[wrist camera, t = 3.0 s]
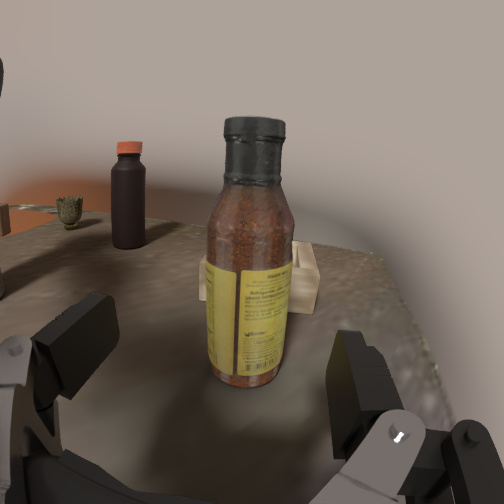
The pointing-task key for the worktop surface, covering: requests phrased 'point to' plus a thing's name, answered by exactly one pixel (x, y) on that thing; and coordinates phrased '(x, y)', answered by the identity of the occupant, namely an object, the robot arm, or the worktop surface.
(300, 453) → the worktop surface
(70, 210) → the cup
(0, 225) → the wooden block
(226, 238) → the sauce bottle
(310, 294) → the socket block
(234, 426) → the worktop surface
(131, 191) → the vinegar
